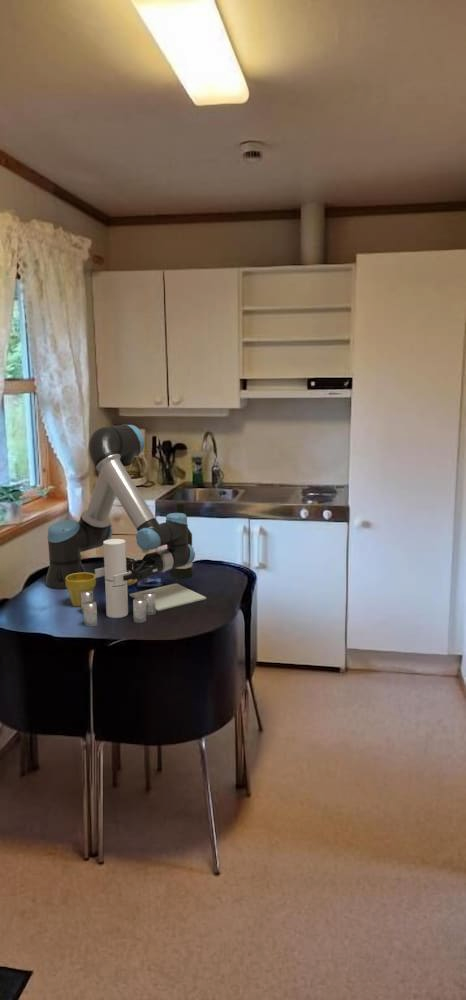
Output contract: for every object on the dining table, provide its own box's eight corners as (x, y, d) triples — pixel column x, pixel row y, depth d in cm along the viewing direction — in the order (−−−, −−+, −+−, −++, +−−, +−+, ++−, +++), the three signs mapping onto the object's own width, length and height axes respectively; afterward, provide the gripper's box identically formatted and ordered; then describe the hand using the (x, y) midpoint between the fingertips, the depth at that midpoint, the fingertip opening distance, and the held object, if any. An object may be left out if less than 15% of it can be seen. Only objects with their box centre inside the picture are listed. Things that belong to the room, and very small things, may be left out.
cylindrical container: (113, 609, 230) (110, 538, 225) (131, 611, 228) (129, 539, 223) (102, 616, 223) (99, 543, 218) (121, 618, 221) (118, 545, 216)
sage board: (129, 595, 244) (129, 594, 243) (176, 584, 255) (176, 583, 255) (157, 611, 228) (157, 609, 228) (206, 598, 240) (206, 597, 239)
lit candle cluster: (68, 613, 226) (67, 594, 224) (132, 599, 240) (131, 580, 238) (97, 634, 208) (96, 612, 207) (164, 616, 222) (163, 596, 221)
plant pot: (102, 603, 236) (101, 576, 234) (76, 610, 229) (75, 583, 227) (87, 596, 243) (85, 570, 241) (61, 603, 236) (59, 576, 234)
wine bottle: (178, 571, 272) (177, 498, 266) (196, 574, 268) (195, 500, 262) (168, 577, 264) (166, 502, 259) (186, 580, 261) (184, 504, 255)
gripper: (178, 579, 229) (126, 595, 213) (137, 566, 244) (85, 580, 228) (178, 557, 227) (125, 572, 211) (136, 546, 242) (84, 559, 226)
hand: (104, 576), depth 220 cm, fingers open, 9 cm apart
